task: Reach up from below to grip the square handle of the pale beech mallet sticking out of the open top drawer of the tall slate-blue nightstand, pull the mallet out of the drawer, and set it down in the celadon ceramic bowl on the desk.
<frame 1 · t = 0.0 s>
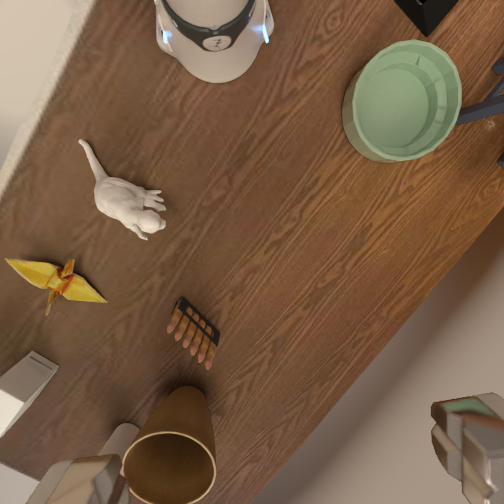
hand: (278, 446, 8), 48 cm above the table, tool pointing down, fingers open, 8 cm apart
origami crane: (66, 278, 56), on the table
dinosaur figurine: (126, 191, 53), on the table
nightstand: (497, 120, 52), on the table
bowl: (389, 111, 51), on the table
plant pot: (186, 399, 62), on the table
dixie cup: (128, 433, 64), on the table
ammunition clip: (198, 317, 58), on the table
cosmetics box: (34, 375, 60), on the table
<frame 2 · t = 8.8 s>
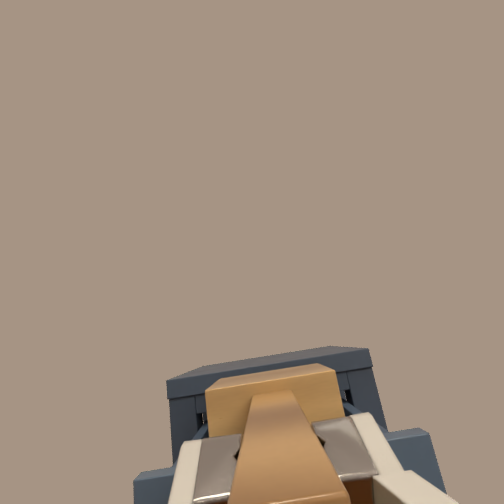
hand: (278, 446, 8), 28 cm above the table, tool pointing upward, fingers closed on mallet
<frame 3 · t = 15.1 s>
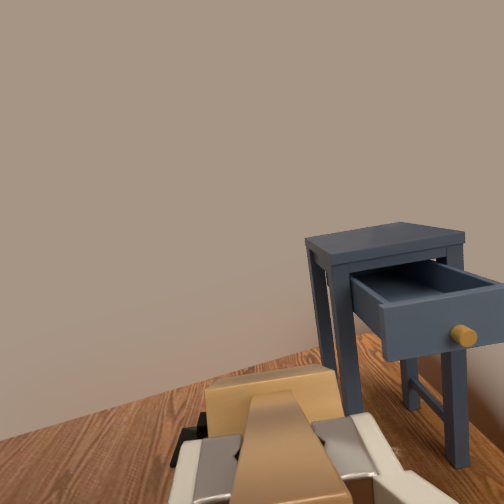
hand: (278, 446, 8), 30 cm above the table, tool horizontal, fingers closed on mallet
black slotted stand: (215, 444, 46), on the table
nightstand: (393, 443, 41), on the table
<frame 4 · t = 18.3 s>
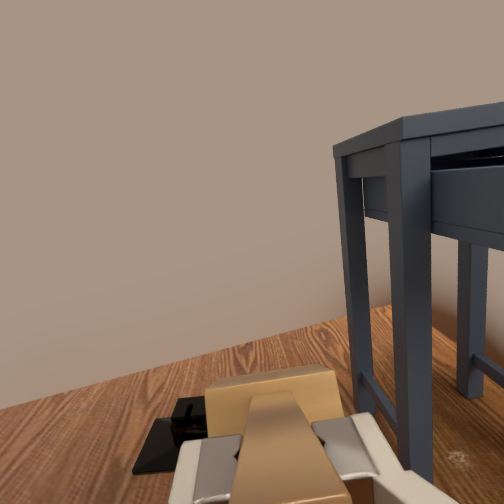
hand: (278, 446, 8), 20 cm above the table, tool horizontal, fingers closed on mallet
black slotted stand: (198, 441, 33), on the table
nightstand: (454, 446, 28), on the table
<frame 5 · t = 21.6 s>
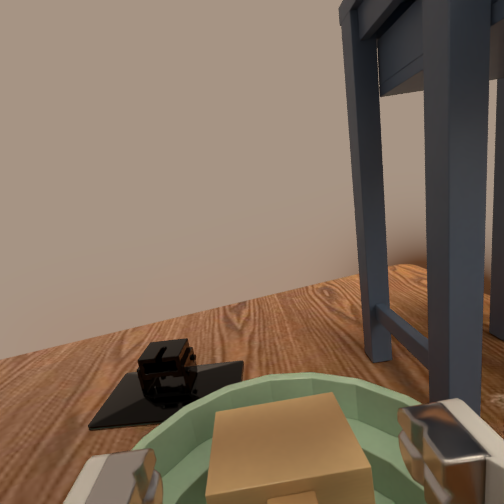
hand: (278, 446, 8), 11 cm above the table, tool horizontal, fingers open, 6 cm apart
black slotted stand: (174, 395, 27), on the table
nightstand: (496, 388, 22), on the table
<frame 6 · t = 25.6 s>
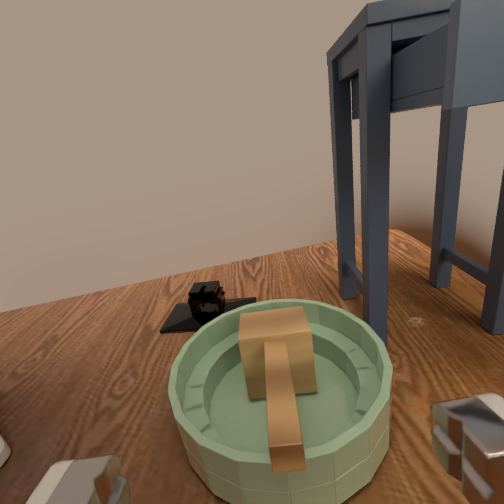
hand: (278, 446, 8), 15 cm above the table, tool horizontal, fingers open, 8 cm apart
black slotted stand: (211, 316, 41), on the table
nightstand: (415, 314, 35), on the table
bowl: (282, 403, 26), on the table
mallet: (281, 378, 28), point 1 cm above the table, tilted 5°, touching bowl
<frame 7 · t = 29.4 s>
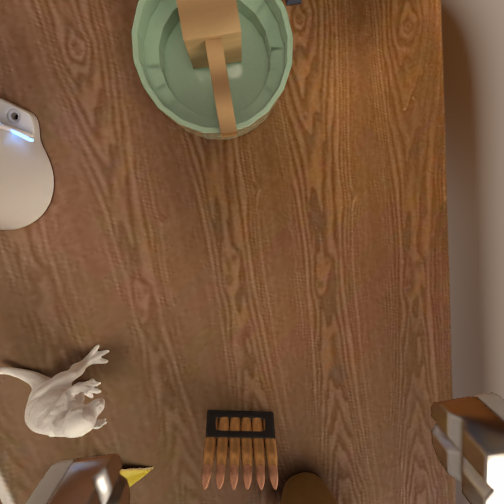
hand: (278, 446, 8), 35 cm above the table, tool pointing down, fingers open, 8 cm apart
origami crane: (103, 476, 50), on the table
dinosaur figurine: (73, 370, 46), on the table
bowl: (217, 67, 37), on the table
plant pot: (302, 487, 52), on the table
ammunition clip: (240, 415, 49), on the table
mallet: (214, 45, 36), point 1 cm above the table, tilted 5°, touching bowl
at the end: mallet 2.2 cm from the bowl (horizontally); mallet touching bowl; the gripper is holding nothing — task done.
